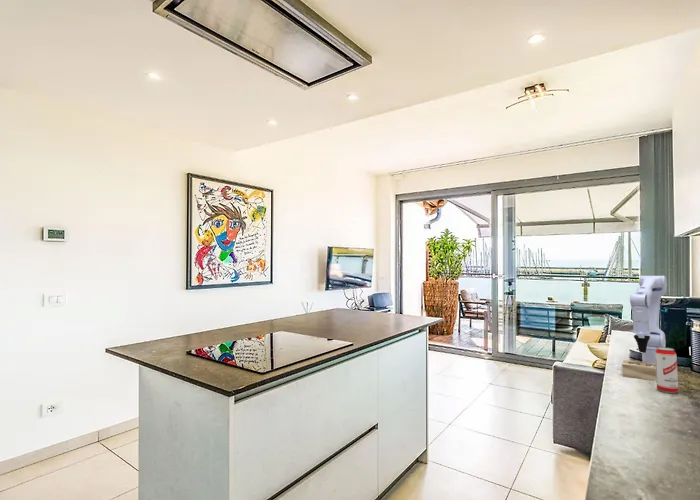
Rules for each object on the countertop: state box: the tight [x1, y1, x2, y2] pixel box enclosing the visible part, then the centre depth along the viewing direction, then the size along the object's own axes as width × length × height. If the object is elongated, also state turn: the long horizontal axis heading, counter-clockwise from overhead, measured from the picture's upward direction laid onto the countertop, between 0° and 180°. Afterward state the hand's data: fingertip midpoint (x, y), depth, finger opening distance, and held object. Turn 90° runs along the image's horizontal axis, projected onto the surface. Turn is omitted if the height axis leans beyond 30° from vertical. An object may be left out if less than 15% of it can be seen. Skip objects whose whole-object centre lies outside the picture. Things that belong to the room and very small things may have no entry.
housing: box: [621, 359, 657, 382], centre depth 163 cm, size 11×13×5 cm
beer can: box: [655, 346, 679, 394], centre depth 143 cm, size 6×6×16 cm
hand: (642, 352), depth 166 cm, fingers closed
